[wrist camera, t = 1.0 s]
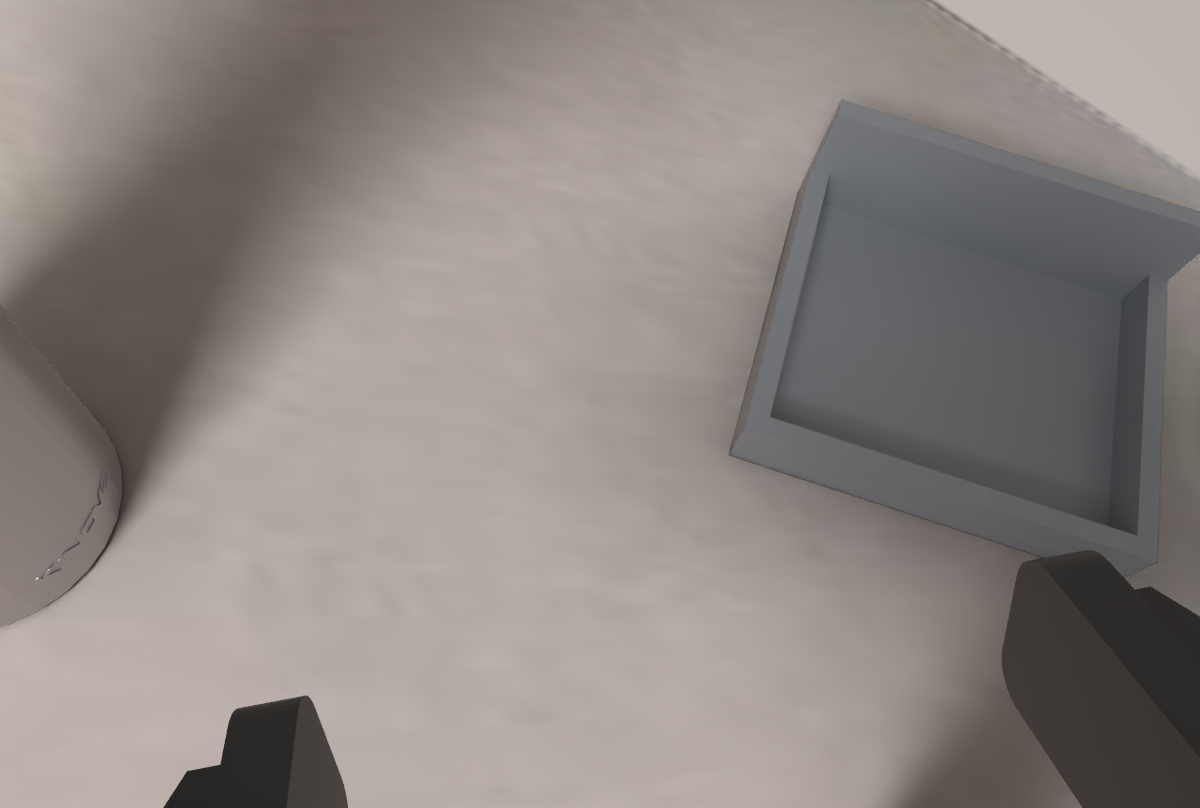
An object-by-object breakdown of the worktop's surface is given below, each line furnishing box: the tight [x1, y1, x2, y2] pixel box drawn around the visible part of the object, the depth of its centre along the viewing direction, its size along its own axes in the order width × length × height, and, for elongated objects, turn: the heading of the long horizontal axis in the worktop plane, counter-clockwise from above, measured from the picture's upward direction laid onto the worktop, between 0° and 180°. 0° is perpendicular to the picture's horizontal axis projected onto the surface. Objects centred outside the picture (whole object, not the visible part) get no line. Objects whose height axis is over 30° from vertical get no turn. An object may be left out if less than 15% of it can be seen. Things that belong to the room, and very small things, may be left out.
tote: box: [729, 100, 1200, 577], centre depth 39 cm, size 16×14×6 cm
